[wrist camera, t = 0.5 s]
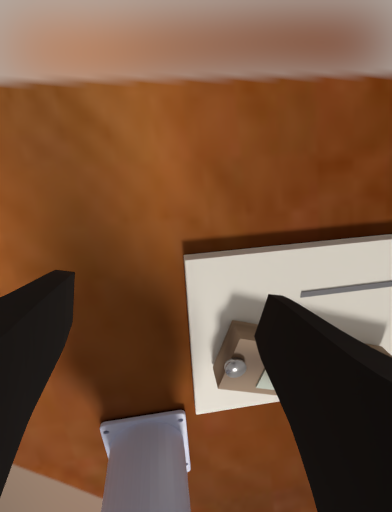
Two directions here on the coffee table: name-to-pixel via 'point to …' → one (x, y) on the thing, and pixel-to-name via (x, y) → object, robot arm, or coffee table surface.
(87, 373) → the coffee table surface
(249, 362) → the frame
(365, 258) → the wall board
